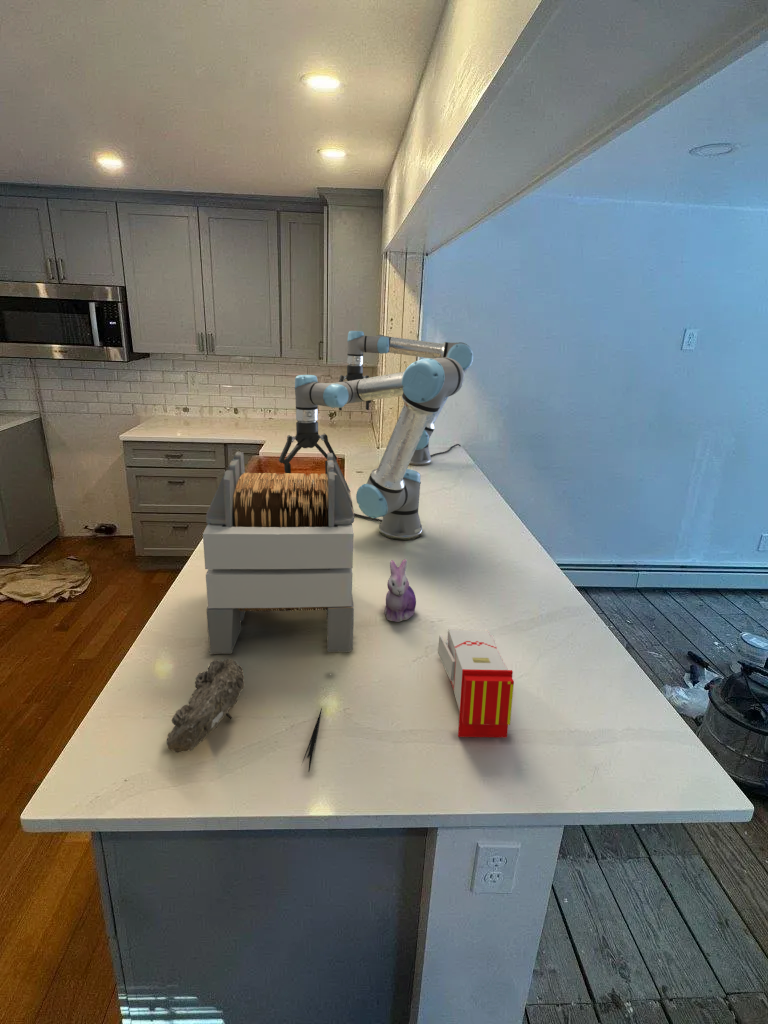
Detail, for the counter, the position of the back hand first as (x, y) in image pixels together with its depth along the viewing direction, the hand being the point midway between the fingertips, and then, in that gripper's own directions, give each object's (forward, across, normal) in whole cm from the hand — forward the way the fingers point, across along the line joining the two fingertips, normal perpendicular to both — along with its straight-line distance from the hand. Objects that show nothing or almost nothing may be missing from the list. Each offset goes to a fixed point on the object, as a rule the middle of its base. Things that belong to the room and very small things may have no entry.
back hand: (353, 409), depth 276 cm
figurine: (+27, -27, -146) cm, 151 cm away
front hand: (+12, -37, -75) cm, 84 cm away
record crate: (+27, -56, -140) cm, 153 cm away
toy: (+27, -23, -179) cm, 183 cm away
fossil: (+27, -75, -173) cm, 191 cm away
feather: (+27, -55, -179) cm, 190 cm away
